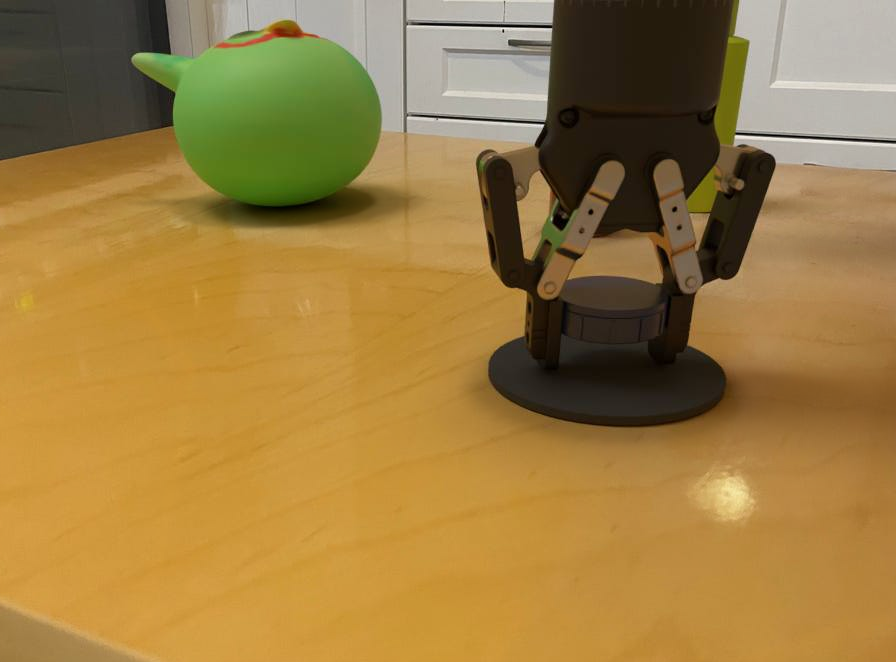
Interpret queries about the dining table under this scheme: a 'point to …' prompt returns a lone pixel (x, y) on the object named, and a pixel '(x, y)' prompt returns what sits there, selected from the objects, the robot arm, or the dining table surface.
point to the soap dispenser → (724, 111)
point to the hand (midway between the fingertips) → (604, 360)
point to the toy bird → (272, 114)
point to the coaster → (608, 382)
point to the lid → (613, 309)
